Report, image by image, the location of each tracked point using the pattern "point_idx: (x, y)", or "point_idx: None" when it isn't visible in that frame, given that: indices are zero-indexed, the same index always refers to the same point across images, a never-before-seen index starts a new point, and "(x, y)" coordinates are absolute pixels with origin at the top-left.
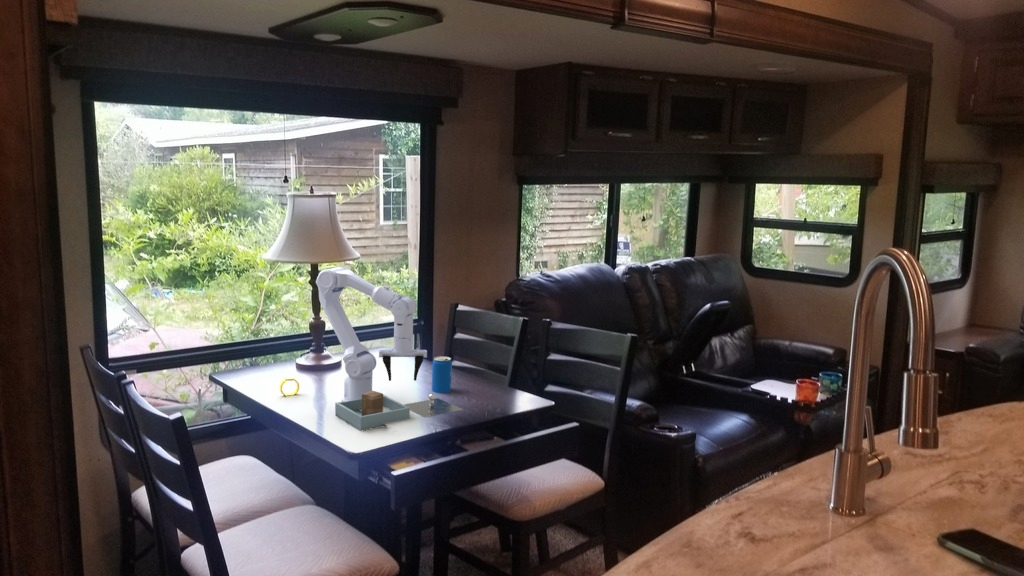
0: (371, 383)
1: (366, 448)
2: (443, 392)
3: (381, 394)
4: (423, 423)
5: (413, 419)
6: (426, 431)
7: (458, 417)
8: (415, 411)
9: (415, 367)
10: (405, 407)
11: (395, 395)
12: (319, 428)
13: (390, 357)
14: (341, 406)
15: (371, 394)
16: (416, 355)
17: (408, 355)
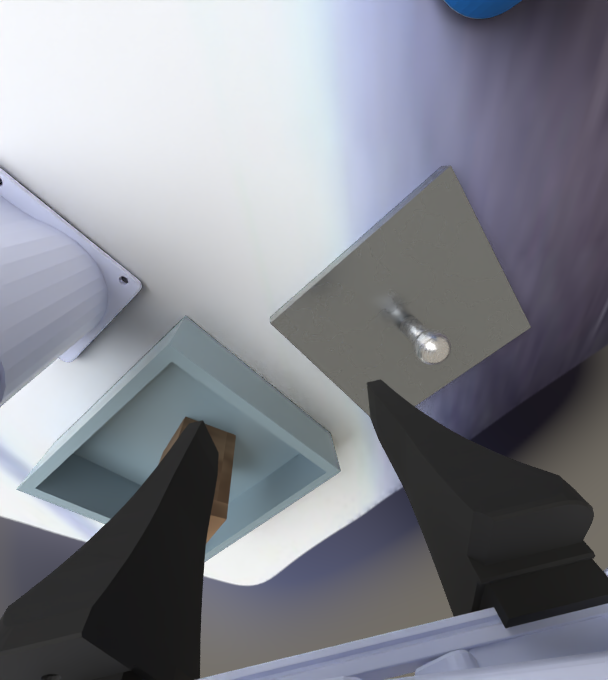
0: (39, 338)
1: (264, 576)
2: (503, 10)
3: (221, 522)
4: (375, 440)
5: (341, 417)
6: (385, 484)
7: (491, 371)
8: (346, 384)
9: (422, 523)
10: (324, 470)
11: (168, 59)
12: (85, 529)
13: (145, 676)
14: (75, 511)
15: None
16: (513, 645)
17: (400, 673)
